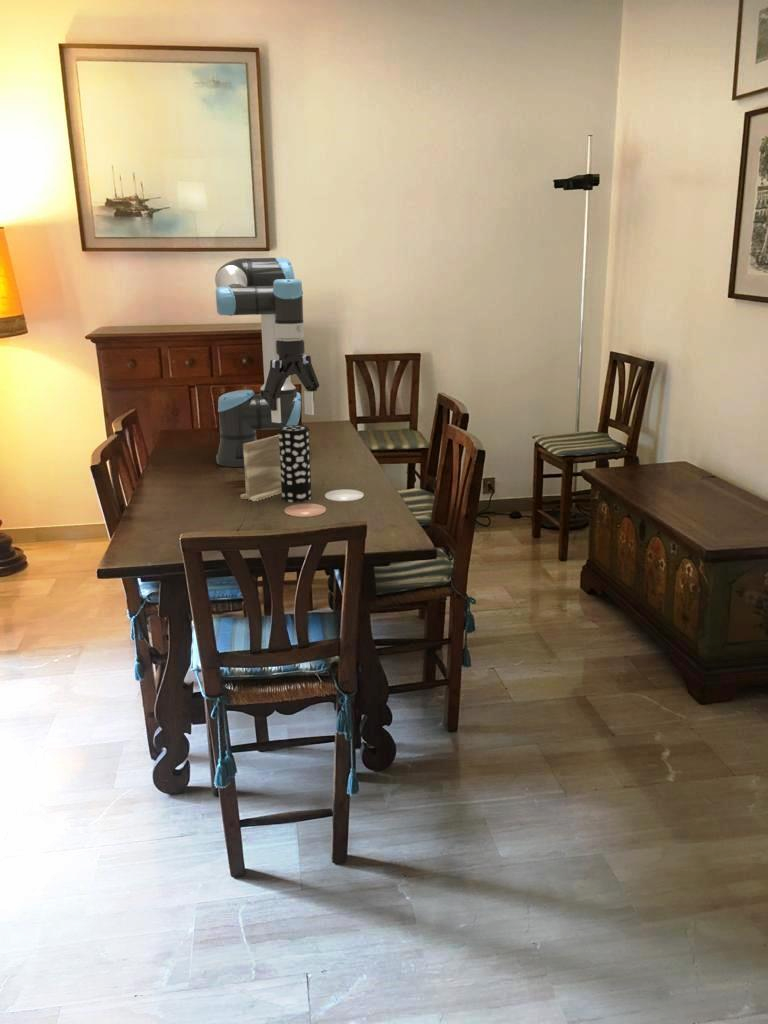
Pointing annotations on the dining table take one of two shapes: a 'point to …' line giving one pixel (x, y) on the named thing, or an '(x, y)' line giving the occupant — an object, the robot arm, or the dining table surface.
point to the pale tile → (344, 495)
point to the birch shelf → (262, 468)
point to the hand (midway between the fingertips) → (293, 418)
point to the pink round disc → (305, 510)
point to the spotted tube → (295, 463)
